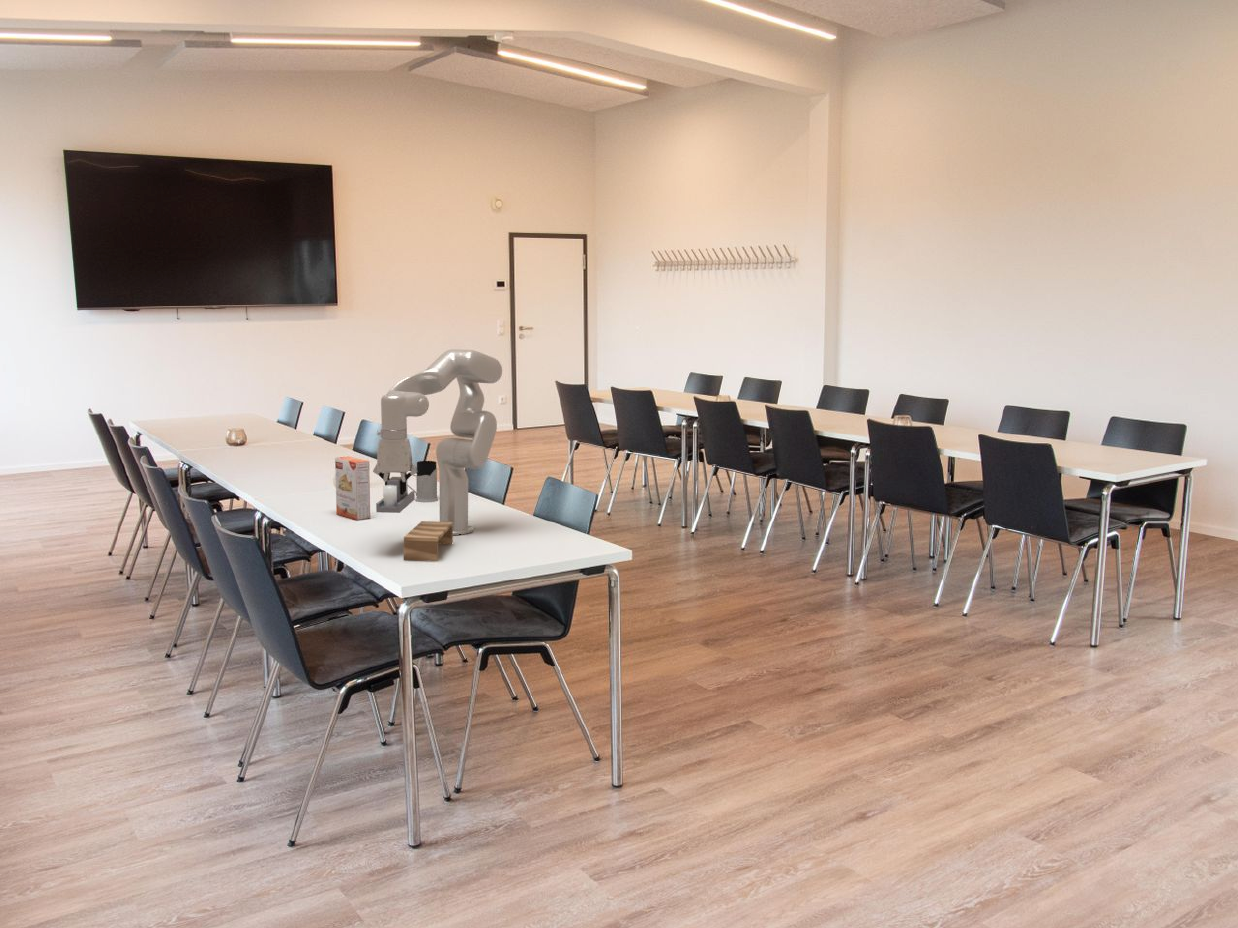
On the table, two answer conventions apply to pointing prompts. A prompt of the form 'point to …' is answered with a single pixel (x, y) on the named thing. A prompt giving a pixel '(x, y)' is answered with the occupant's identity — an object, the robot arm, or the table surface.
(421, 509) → the table surface
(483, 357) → the robot arm
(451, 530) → the curved wooden channel
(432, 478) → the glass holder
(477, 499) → the table surface
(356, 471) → the cracker box
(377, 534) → the table surface
